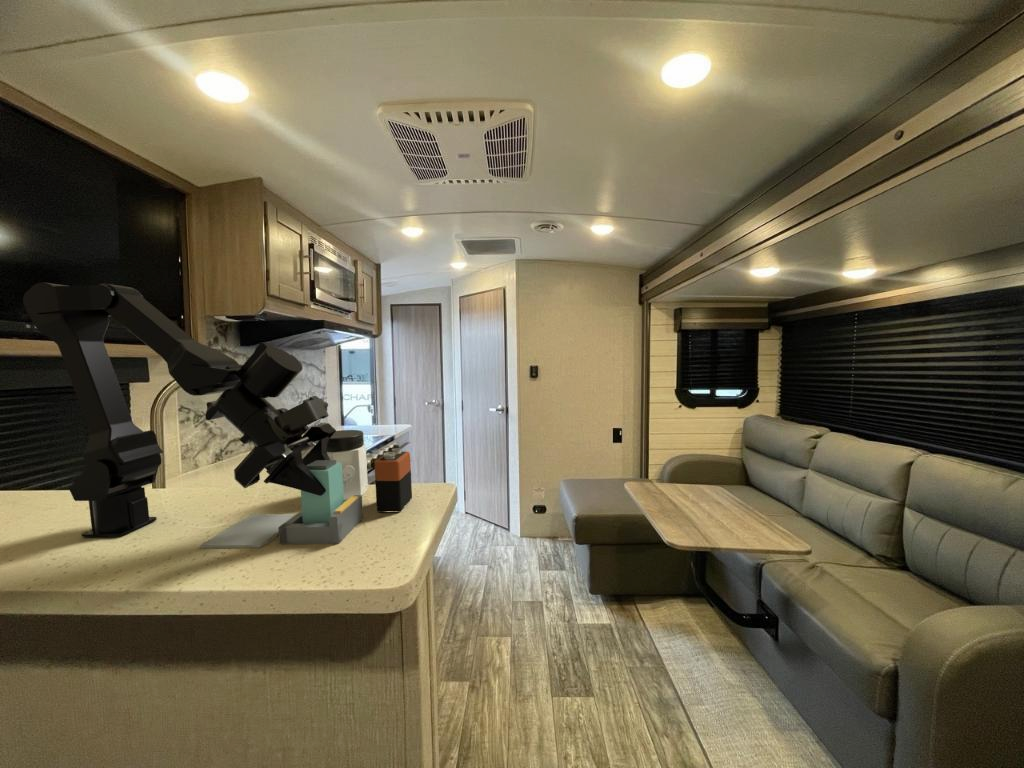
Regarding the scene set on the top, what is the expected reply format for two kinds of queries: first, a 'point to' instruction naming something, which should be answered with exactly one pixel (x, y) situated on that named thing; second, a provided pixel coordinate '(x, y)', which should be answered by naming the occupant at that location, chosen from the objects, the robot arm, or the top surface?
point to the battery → (393, 480)
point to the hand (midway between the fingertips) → (331, 488)
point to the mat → (249, 532)
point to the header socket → (323, 525)
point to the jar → (350, 460)
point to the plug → (325, 505)
